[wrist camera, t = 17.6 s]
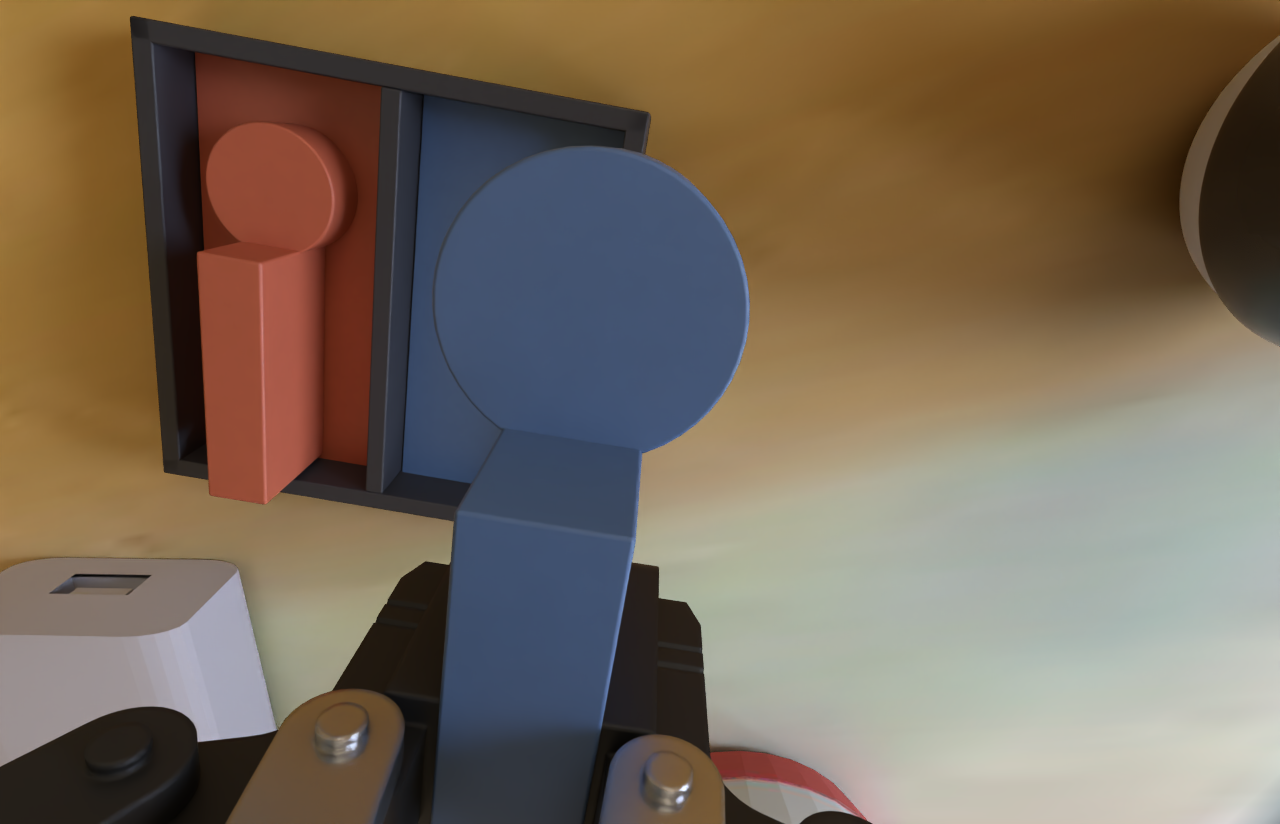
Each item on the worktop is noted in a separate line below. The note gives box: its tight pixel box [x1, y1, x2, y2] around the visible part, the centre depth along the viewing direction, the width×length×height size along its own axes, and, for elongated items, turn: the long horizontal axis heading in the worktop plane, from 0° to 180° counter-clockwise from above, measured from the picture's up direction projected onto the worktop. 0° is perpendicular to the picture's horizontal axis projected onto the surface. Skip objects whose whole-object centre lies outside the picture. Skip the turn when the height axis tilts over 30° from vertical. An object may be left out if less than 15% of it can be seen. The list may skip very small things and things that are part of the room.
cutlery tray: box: [130, 16, 651, 521], centre depth 23 cm, size 14×14×2 cm
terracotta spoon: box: [197, 122, 358, 504], centre depth 22 cm, size 4×11×4 cm, turn 170°
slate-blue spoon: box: [430, 146, 750, 824], centre depth 9 cm, size 4×11×4 cm, turn 171°
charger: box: [0, 558, 277, 766], centre depth 29 cm, size 5×9×15 cm
